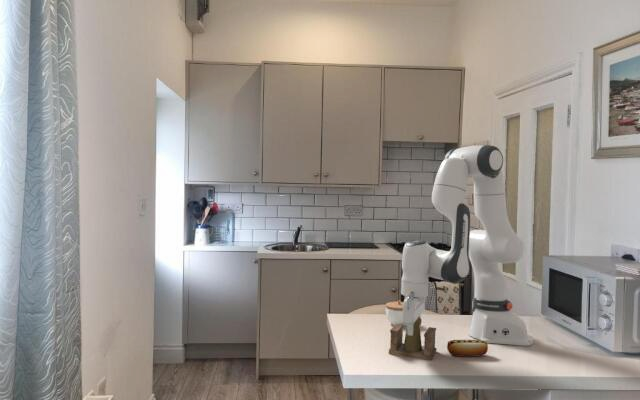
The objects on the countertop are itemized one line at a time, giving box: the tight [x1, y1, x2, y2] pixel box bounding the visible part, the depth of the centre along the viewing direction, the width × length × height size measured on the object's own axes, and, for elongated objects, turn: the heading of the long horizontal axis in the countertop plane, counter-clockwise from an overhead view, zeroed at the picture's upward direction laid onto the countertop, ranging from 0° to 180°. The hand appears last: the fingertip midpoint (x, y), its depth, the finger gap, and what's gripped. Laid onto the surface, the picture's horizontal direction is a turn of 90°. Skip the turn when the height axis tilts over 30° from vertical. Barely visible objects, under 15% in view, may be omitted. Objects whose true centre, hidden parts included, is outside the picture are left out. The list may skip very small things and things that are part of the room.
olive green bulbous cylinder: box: [403, 317, 423, 352], centre depth 168 cm, size 6×6×11 cm
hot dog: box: [446, 339, 489, 357], centre depth 167 cm, size 5×13×5 cm, turn 93°
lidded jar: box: [385, 299, 407, 327], centre depth 203 cm, size 11×11×9 cm
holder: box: [388, 323, 437, 361], centre depth 169 cm, size 14×9×8 cm
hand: (413, 331), depth 169 cm, fingers open, 8 cm apart
